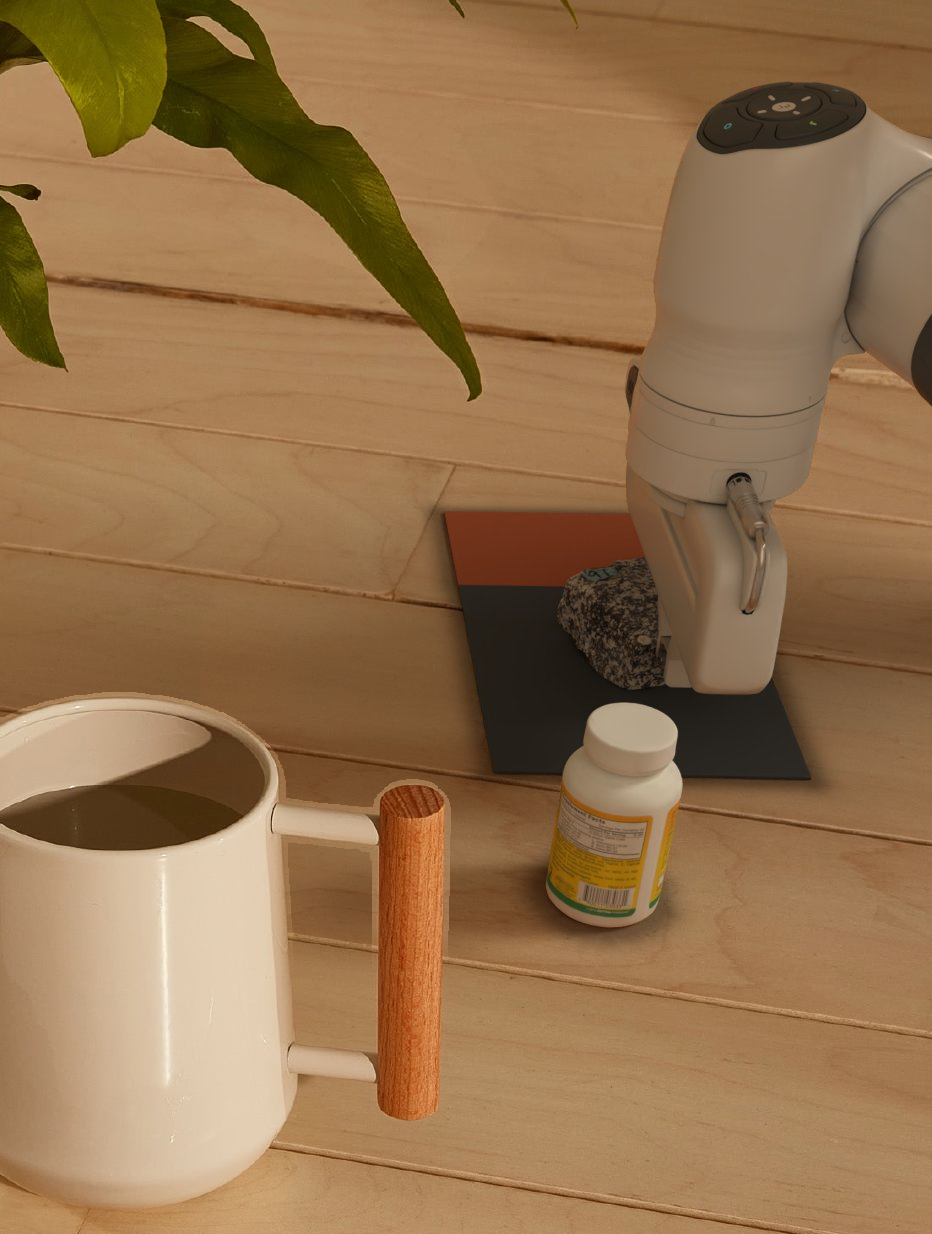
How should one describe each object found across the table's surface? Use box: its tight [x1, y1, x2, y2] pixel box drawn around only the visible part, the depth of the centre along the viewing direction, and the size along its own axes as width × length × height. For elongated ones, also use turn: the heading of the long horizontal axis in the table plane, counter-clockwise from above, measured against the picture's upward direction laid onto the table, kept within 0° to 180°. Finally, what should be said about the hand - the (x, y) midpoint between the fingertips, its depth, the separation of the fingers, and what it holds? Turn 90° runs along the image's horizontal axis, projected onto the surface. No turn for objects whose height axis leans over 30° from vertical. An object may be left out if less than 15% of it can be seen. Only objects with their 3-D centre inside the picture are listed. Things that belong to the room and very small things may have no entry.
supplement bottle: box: [545, 703, 683, 928], centre depth 99 cm, size 5×5×10 cm
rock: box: [557, 557, 666, 690], centre depth 119 cm, size 8×10×4 cm
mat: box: [443, 510, 812, 781], centre depth 121 cm, size 16×28×1 cm, turn 177°
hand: (675, 673), depth 114 cm, fingers closed
